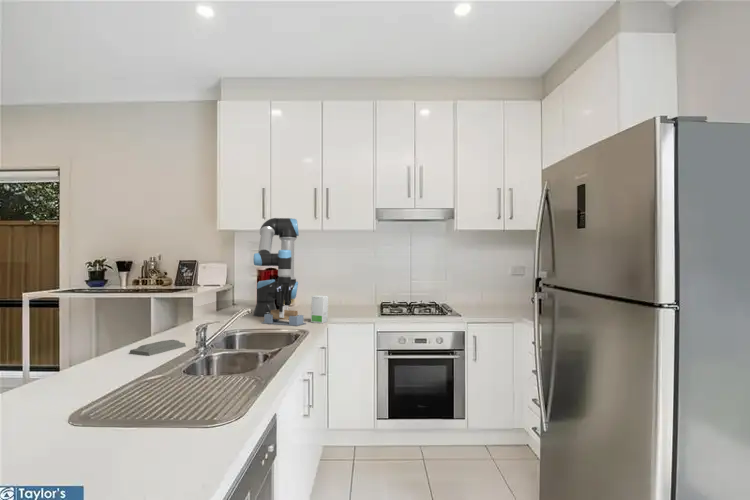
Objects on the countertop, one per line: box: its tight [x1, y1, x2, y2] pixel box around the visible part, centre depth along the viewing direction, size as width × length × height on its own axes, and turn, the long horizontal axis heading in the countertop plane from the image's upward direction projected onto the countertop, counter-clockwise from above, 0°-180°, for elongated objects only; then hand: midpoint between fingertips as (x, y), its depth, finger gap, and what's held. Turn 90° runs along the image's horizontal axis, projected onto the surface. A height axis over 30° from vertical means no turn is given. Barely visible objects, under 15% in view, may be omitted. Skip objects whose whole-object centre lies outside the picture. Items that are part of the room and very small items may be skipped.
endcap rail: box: [261, 313, 307, 327], centre depth 258 cm, size 10×24×5 cm, turn 67°
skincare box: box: [310, 295, 329, 324], centre depth 266 cm, size 8×7×16 cm
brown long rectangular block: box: [271, 309, 299, 321], centre depth 258 cm, size 4×16×5 cm, turn 67°
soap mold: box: [128, 339, 187, 357], centre depth 182 cm, size 10×20×4 cm, turn 161°
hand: (283, 317), depth 258 cm, fingers closed on brown long rectangular block, 3 cm apart
